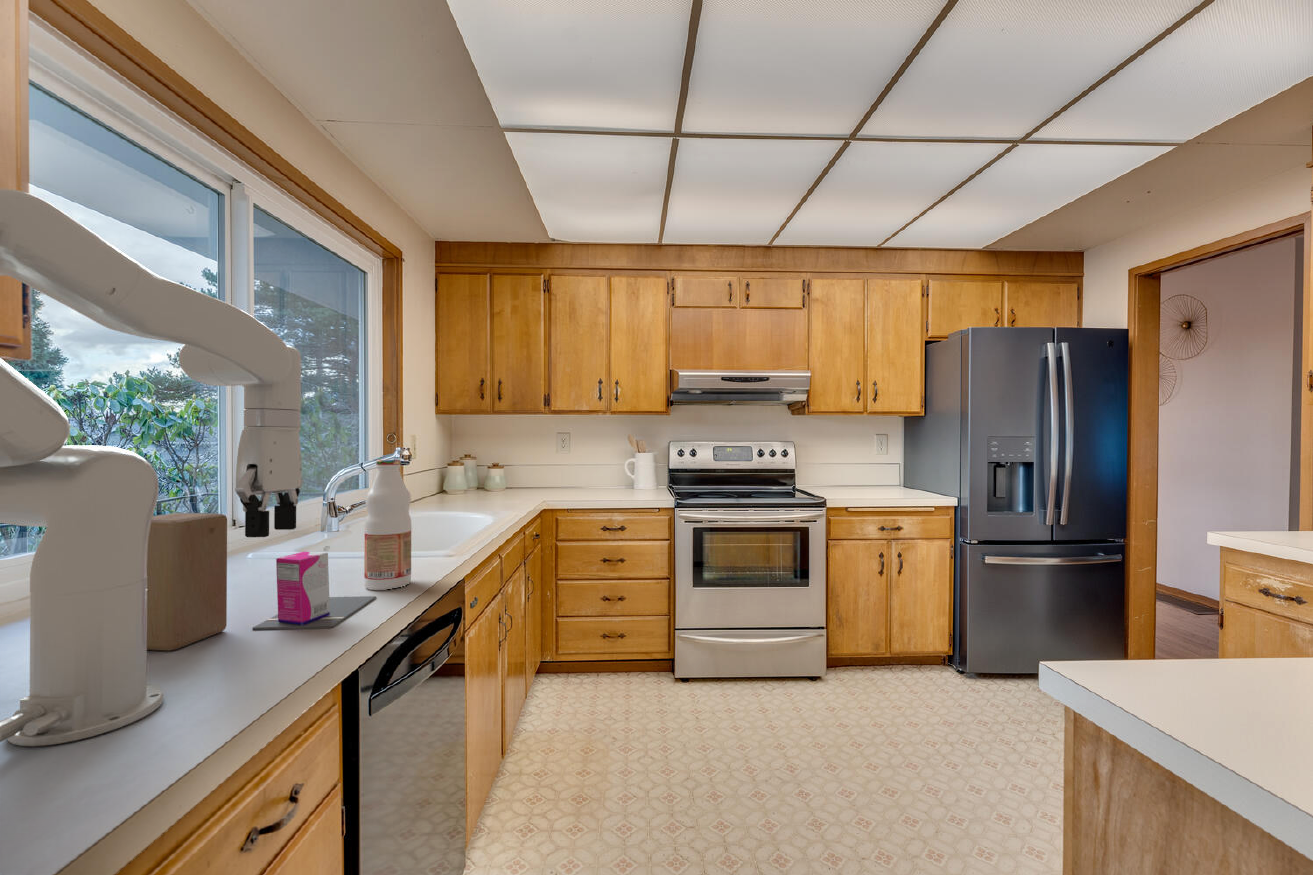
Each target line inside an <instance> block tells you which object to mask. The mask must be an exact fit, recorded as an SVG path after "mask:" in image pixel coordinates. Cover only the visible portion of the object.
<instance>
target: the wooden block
mask: <svg viewBox="0 0 1313 875" xmlns="http://www.w3.org/2000/svg"><path fill="white" fill-rule="evenodd" d="M227 568H228V518H227V515H224V514H222V513H215V512H214V513H213V512H211V513H207V512H206V513H205V512H203V513H202V512H201V513H200V512H198V513H197V512H175V513H174V512H172V513H166V514H157V515H153V518H152V521H151V526H150V532H149V539H148V553H147V651H148V650H150V651H170V652H171V651H175V650H178V649H180V648H183V647H185V646H188V645H191V644H194V643H196V642H198V641H201V640H203V639H206V638H209V637H211V636H214V635H216V634H219V633H221V632H223V631H225V630H226V628H227V623H228V622H227V621H228V620H227V619H228V617H227V615H228V614H227V610H228V609H227V608H228V605H227V604H228V602H227V598H228V596H227V595H228V593H227V592H228V591H227V590H228V588H227V587H228V569H227Z"/></svg>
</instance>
